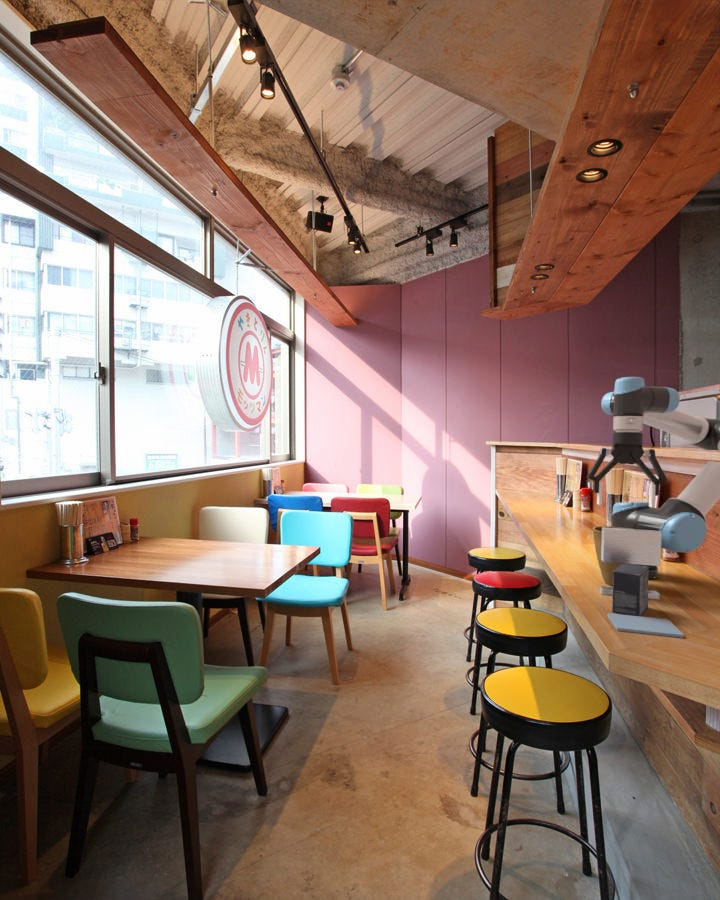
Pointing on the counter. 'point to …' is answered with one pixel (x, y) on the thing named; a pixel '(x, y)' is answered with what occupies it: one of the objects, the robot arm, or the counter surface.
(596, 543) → the plant pot
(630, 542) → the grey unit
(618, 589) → the small box
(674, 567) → the counter surface
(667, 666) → the counter surface
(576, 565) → the counter surface
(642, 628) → the mat
